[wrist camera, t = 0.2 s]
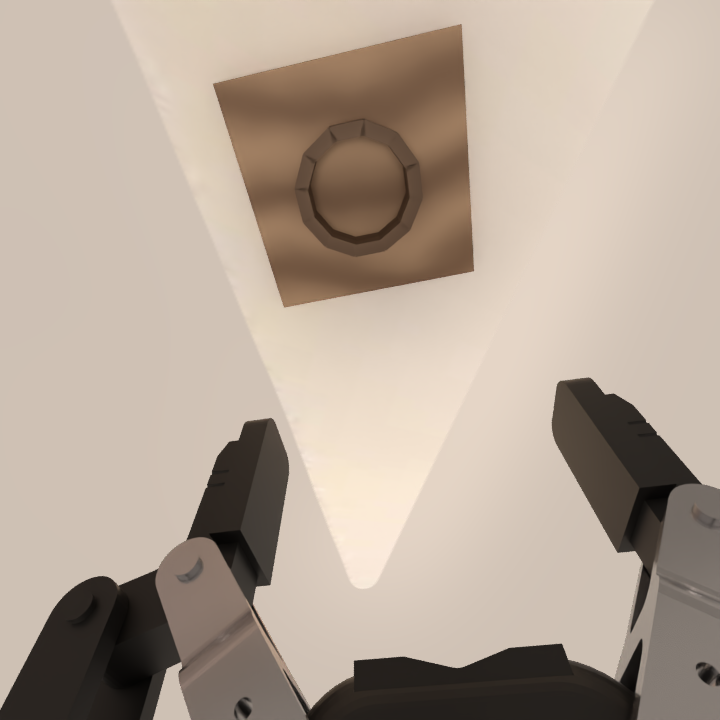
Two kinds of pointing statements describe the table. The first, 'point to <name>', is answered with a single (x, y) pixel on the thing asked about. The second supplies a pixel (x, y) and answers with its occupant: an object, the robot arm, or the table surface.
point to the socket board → (357, 166)
